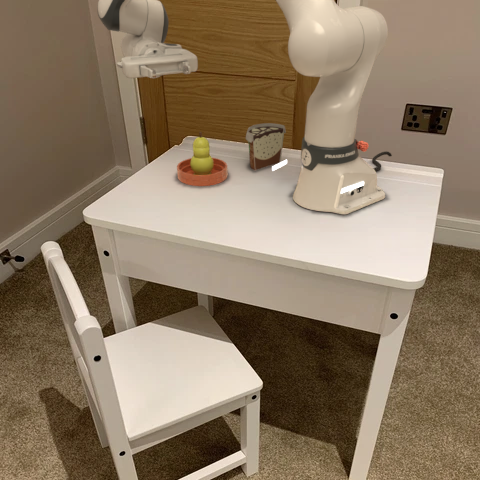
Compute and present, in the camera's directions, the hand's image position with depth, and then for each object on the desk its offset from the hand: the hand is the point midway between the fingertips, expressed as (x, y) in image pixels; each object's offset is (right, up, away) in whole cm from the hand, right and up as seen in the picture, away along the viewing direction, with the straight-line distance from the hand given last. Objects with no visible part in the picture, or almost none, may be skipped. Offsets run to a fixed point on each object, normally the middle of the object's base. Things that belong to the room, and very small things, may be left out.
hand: (170, 72), depth 126 cm
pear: (+8, -25, +4) cm, 27 cm away
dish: (+8, -26, +4) cm, 27 cm away
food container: (+23, -20, +11) cm, 33 cm away
